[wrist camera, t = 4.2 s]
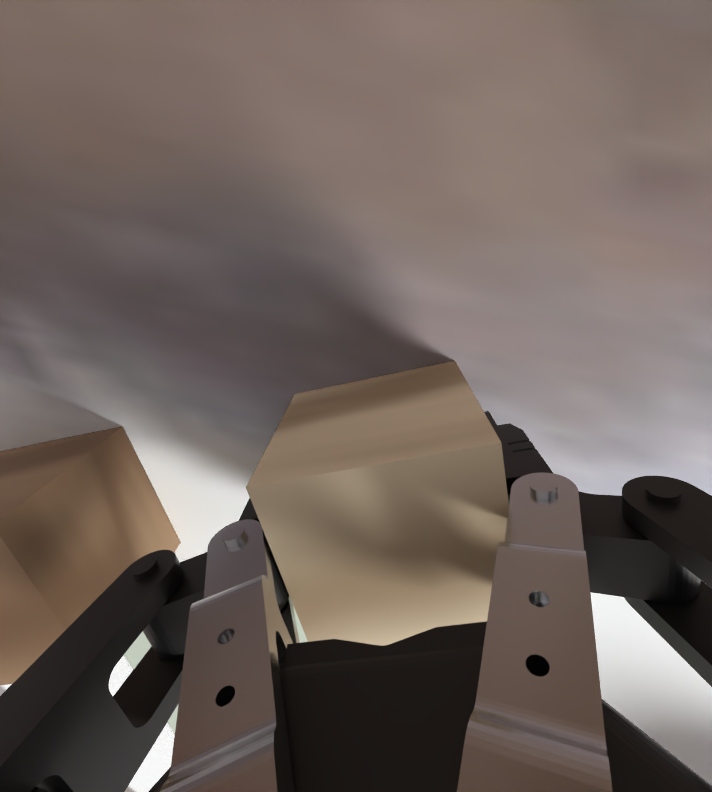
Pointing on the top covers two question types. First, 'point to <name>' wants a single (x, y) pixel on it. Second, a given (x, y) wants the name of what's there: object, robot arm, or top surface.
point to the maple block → (384, 505)
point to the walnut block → (68, 535)
